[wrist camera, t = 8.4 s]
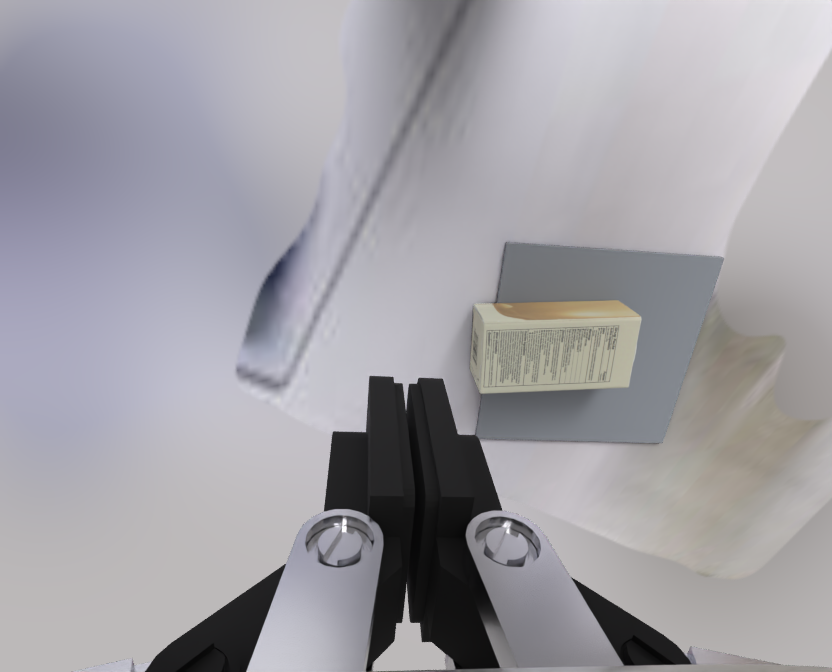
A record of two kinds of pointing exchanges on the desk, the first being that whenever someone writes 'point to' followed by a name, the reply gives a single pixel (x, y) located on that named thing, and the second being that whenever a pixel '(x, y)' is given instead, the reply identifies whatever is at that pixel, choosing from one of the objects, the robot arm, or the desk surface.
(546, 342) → the skincare box
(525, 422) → the desk mat
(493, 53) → the desk surface
